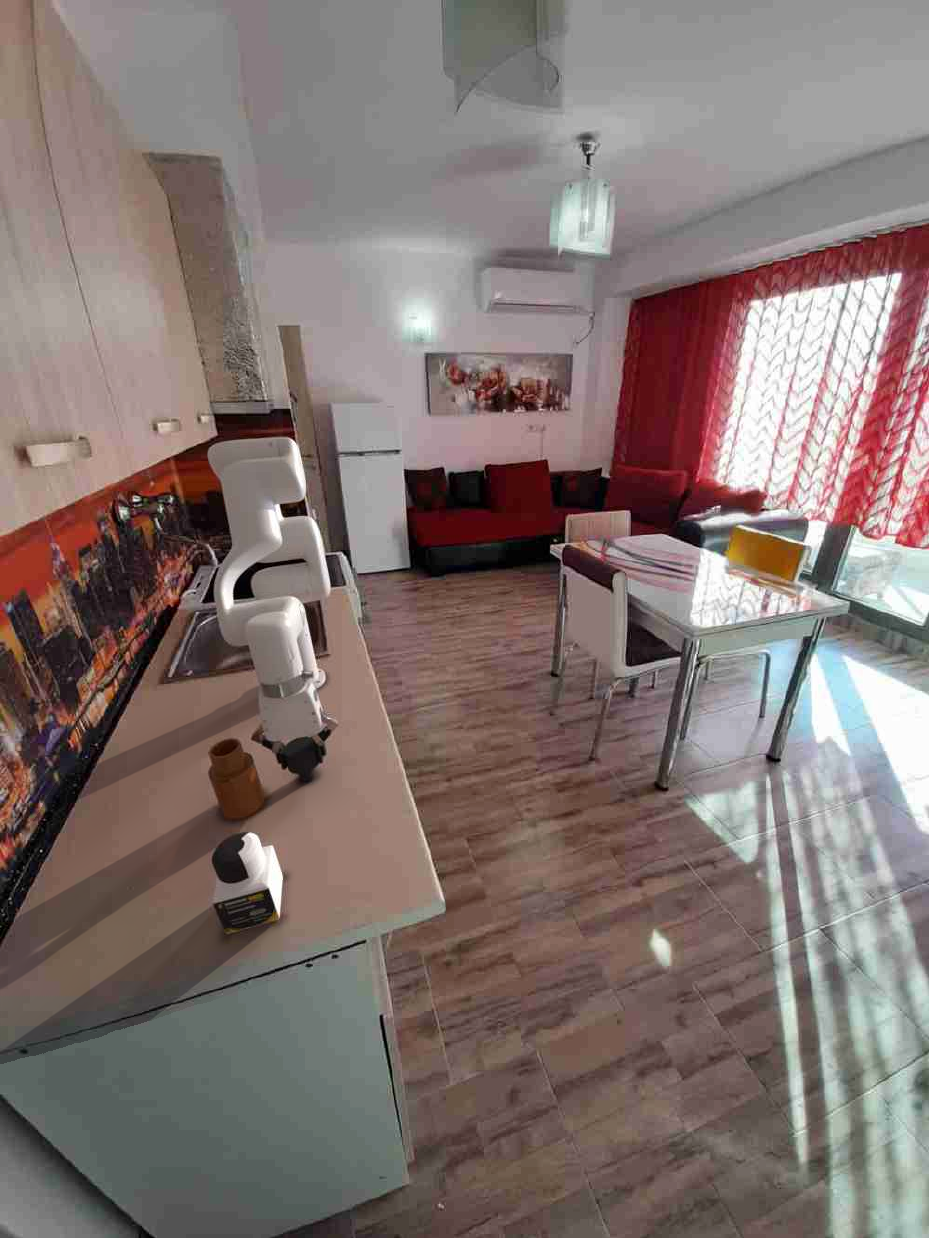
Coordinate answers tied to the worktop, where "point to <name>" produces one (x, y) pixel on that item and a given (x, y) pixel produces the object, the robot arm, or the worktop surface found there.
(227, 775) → the amber bottle
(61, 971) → the worktop surface
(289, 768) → the stopper
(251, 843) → the medicine bottle
